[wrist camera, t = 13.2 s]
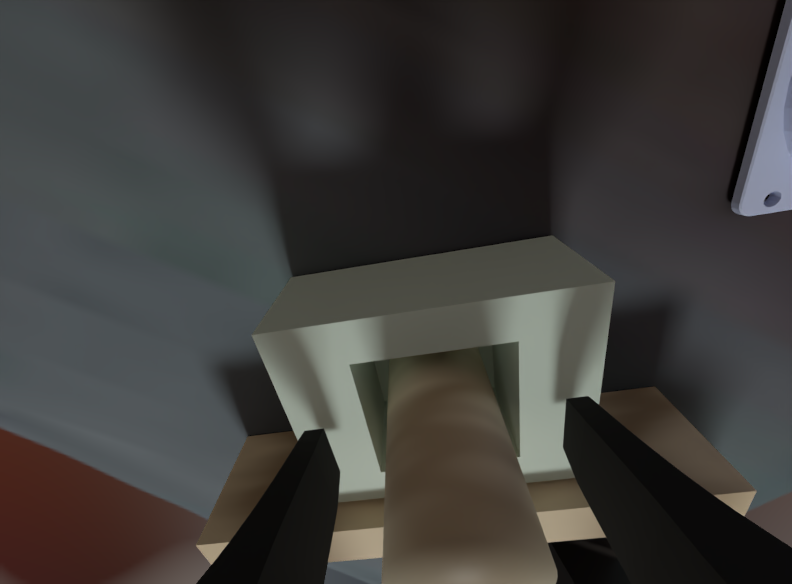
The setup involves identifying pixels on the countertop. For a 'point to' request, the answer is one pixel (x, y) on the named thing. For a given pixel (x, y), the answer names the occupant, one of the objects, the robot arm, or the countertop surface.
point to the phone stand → (587, 562)
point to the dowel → (455, 481)
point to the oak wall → (553, 500)
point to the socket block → (440, 346)
